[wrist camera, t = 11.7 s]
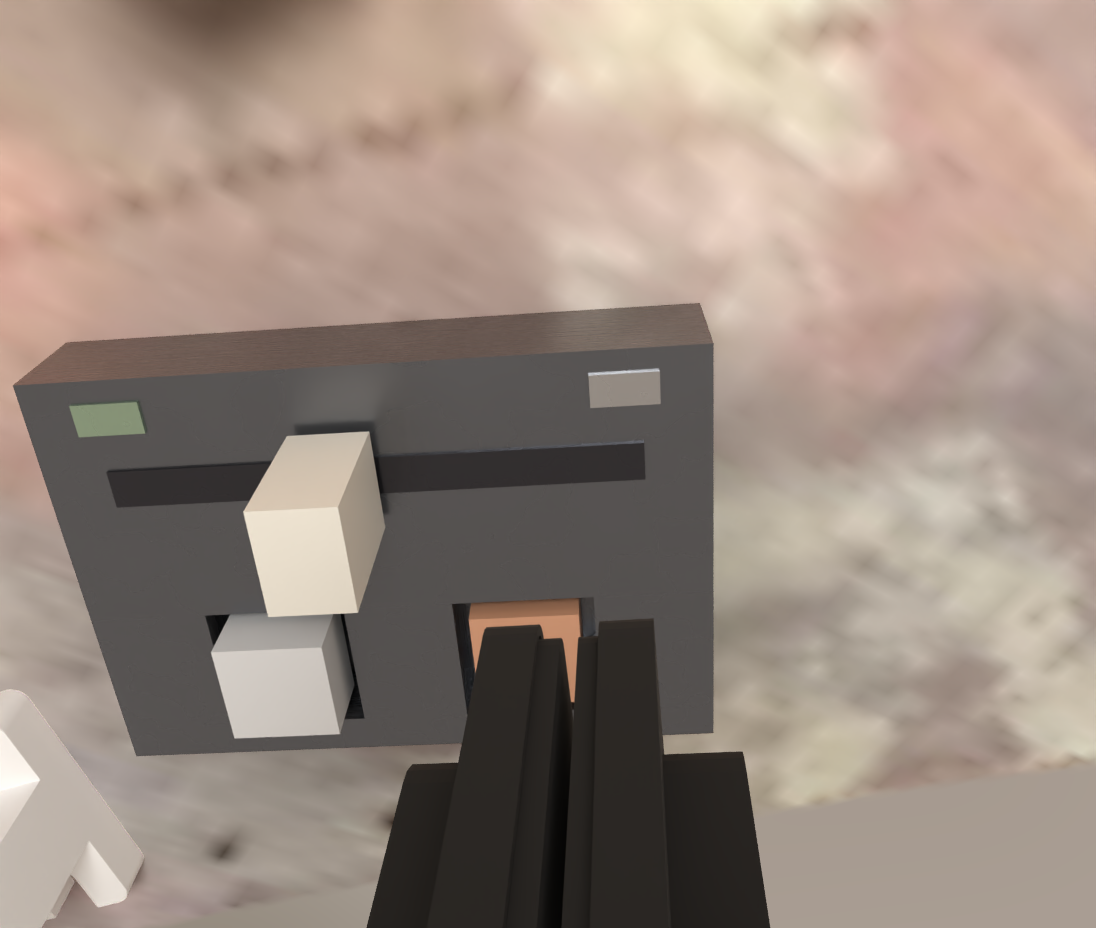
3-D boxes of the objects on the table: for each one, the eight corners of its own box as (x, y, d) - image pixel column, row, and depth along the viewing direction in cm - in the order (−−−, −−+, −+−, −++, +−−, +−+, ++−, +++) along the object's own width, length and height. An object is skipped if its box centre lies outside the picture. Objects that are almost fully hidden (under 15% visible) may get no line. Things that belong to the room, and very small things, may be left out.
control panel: (699, 303, 32) (713, 344, 28) (701, 667, 38) (713, 734, 35) (66, 342, 33) (11, 386, 30) (171, 690, 39) (135, 758, 36)
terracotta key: (578, 571, 35) (578, 614, 33) (584, 654, 36) (585, 701, 34) (475, 576, 35) (468, 619, 33) (485, 658, 37) (480, 705, 34)
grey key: (337, 601, 34) (321, 647, 32) (354, 684, 36) (340, 734, 34) (234, 606, 34) (211, 652, 32) (255, 688, 36) (234, 738, 34)
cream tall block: (369, 431, 30) (337, 506, 26) (385, 527, 31) (358, 613, 27) (286, 436, 30) (243, 511, 26) (306, 531, 31) (268, 617, 27)
